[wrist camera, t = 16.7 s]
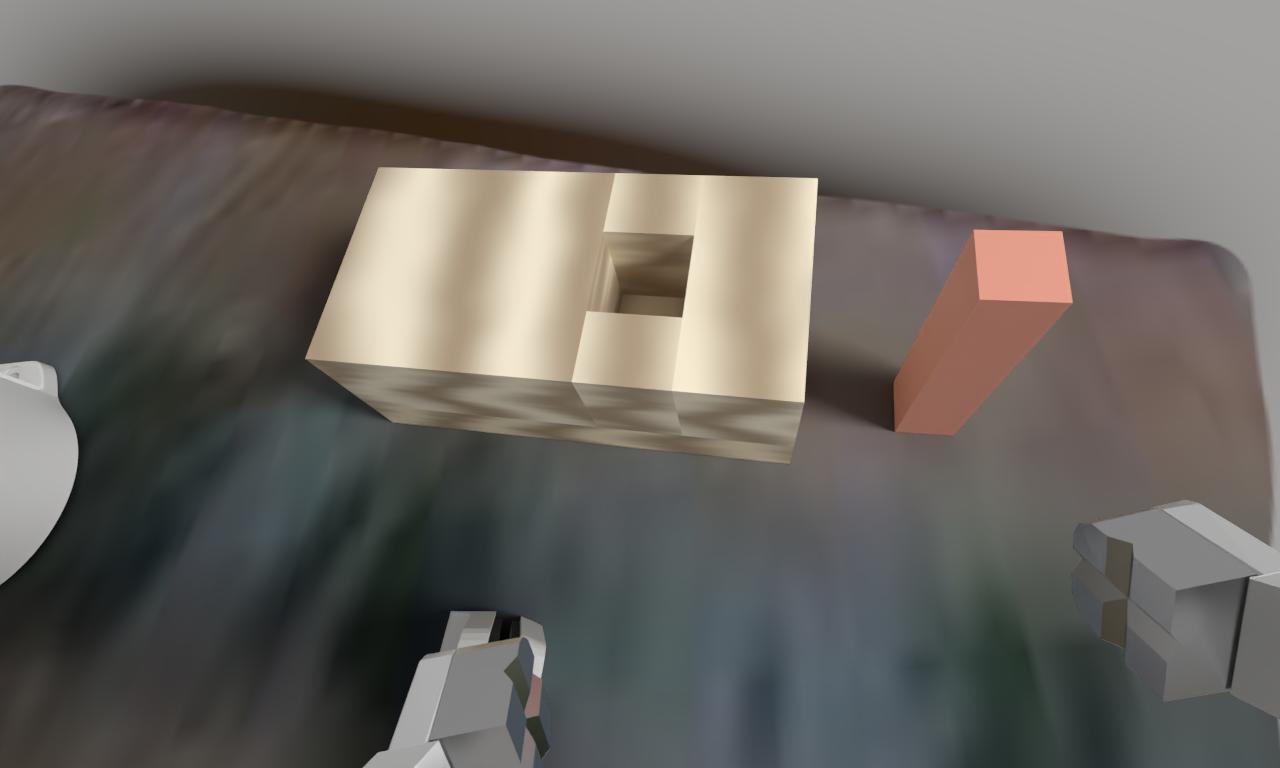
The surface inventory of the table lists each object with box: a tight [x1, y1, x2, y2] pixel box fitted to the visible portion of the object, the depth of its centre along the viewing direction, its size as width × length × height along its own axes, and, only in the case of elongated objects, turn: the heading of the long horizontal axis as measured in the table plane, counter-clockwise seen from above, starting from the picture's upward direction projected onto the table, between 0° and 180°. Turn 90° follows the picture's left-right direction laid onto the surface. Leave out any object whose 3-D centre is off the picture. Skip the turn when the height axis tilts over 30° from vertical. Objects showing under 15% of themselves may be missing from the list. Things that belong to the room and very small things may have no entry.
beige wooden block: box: [305, 167, 818, 464], centre depth 36 cm, size 24×12×9 cm, turn 81°
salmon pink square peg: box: [894, 230, 1073, 436], centre depth 30 cm, size 3×3×14 cm
